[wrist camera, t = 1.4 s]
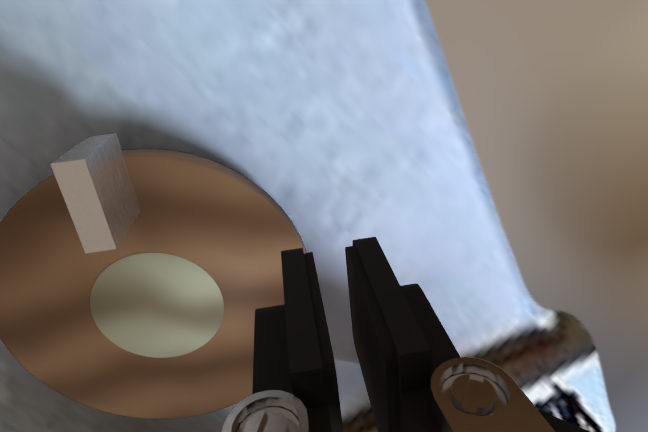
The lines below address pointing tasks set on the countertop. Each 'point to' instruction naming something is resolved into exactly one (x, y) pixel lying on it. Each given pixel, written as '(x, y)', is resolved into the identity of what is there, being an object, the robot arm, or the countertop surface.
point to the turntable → (141, 279)
